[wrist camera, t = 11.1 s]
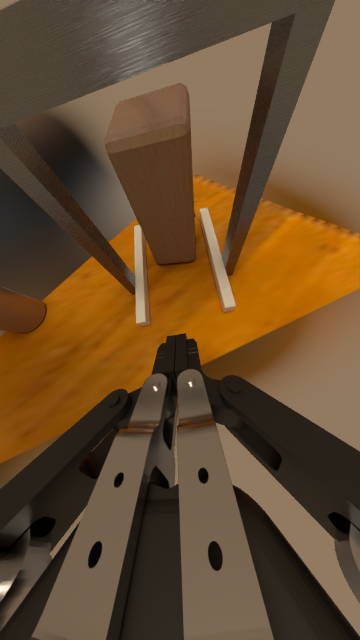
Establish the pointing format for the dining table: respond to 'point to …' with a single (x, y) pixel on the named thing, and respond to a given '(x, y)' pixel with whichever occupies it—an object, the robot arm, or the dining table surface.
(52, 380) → the dining table surface
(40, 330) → the dining table surface
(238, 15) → the arch
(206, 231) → the walled lane
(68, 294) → the dining table surface
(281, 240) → the dining table surface
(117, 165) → the wooden block
